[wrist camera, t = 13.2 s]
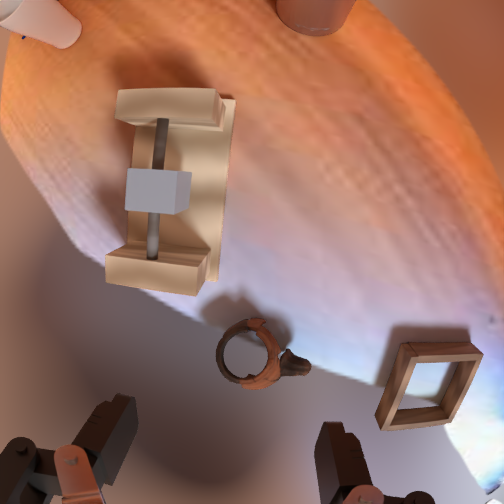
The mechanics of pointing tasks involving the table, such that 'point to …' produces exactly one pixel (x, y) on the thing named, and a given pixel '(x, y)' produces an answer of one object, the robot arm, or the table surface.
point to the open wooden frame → (402, 373)
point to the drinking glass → (40, 21)
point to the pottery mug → (274, 366)
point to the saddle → (157, 190)
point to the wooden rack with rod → (201, 193)
